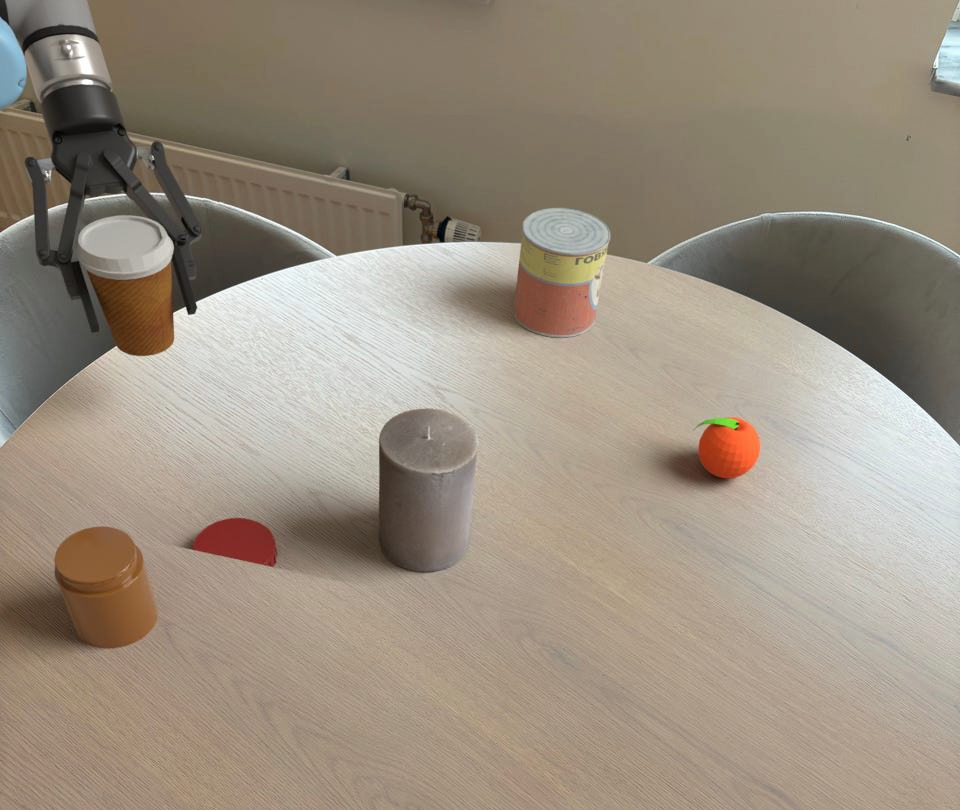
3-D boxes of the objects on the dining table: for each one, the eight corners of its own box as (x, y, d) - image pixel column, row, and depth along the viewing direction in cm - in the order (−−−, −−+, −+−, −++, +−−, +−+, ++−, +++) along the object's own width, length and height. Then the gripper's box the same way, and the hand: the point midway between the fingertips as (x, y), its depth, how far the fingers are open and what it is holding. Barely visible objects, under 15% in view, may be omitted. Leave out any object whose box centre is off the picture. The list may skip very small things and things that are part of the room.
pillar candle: (364, 523, 106) (361, 410, 94) (446, 499, 109) (452, 387, 97) (402, 584, 101) (403, 473, 89) (486, 557, 104) (498, 446, 92)
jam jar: (64, 651, 92) (33, 575, 84) (101, 593, 97) (75, 515, 89) (140, 668, 92) (116, 593, 84) (174, 609, 96) (154, 532, 88)
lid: (258, 595, 98) (256, 583, 97) (181, 576, 99) (178, 564, 98) (289, 540, 103) (287, 527, 102) (216, 522, 104) (213, 509, 103)
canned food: (588, 344, 130) (603, 260, 120) (505, 328, 131) (513, 243, 122) (601, 299, 137) (616, 216, 127) (522, 284, 138) (531, 201, 129)
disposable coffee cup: (171, 371, 105) (151, 268, 96) (85, 357, 105) (56, 253, 96) (201, 322, 111) (185, 220, 102) (120, 309, 111) (96, 207, 102)
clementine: (677, 479, 114) (692, 430, 108) (689, 443, 118) (703, 394, 113) (745, 497, 113) (763, 449, 107) (754, 460, 117) (772, 412, 111)
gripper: (-46, 92, 92) (32, 331, 96) (188, 68, 100) (252, 292, 103) (-35, 126, 99) (37, 348, 103) (182, 102, 107) (242, 310, 110)
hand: (144, 320), depth 103 cm, fingers closed on disposable coffee cup, 9 cm apart
